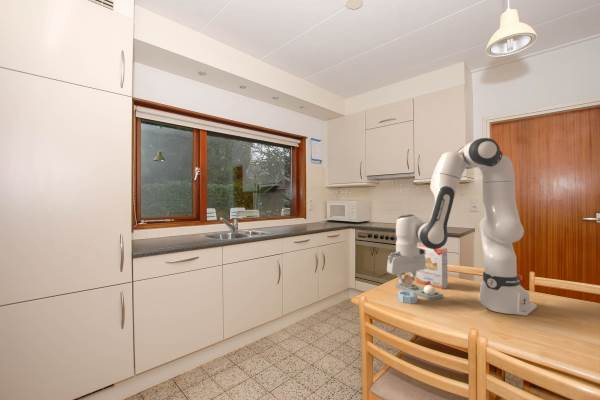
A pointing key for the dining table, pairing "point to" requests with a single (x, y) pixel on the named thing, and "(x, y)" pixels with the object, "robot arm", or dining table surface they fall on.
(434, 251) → the cracker box
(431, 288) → the cream egg
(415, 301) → the egg cup
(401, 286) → the carton
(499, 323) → the dining table surface
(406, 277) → the brown egg
